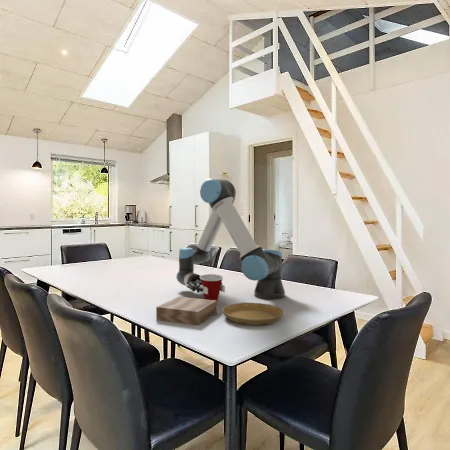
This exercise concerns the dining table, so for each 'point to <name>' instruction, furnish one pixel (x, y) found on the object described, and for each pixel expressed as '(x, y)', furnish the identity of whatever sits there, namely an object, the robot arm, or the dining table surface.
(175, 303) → the walnut podium
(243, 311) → the plant saucer
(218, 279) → the plastic cup
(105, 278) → the dining table surface
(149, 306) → the dining table surface
